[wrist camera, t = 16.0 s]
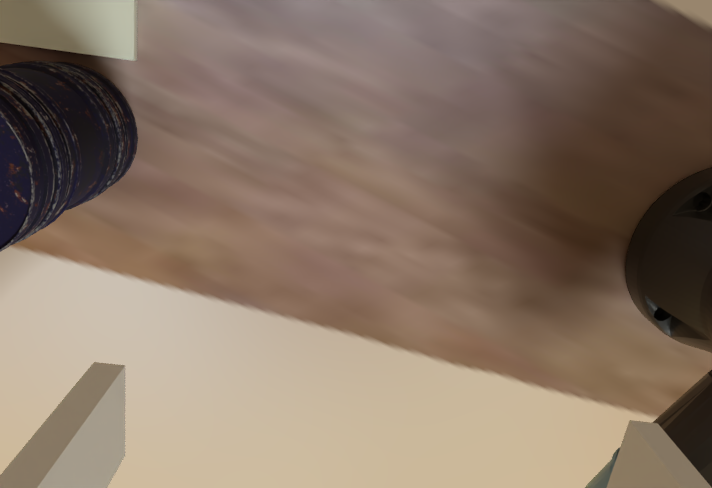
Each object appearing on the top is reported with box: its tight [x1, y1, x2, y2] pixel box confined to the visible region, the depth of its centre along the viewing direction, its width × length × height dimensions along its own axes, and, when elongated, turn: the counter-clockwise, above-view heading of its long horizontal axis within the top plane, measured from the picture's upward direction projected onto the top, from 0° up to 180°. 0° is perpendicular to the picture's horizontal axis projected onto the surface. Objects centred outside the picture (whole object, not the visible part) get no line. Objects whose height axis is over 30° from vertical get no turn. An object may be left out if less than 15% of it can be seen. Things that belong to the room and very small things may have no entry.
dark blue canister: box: [0, 61, 138, 251], centre depth 34 cm, size 10×10×15 cm
